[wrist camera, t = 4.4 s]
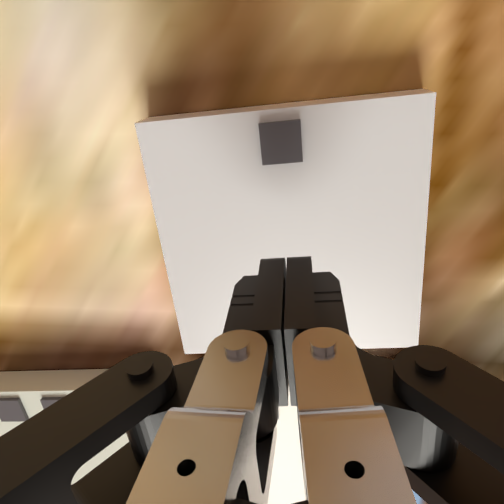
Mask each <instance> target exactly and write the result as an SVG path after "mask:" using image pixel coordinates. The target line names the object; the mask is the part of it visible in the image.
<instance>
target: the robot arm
mask: <svg viewBox="0 0 504 504" xmlns="http://www.w3.org/2000/svg"><path fill="white" fill-rule="evenodd" d="M288 389H289V391H290V402H291V406H297V415H298V428H299V439H300V449H301V459H302V469H303V479H304V489H305V499H306V500H305V501H300V502H296V503H292V504H416V500H415V497H414V495H413V492H412V490H413V491H415V492H416V493H417V494H418V495H419V496H420V497H421V498H422V499H423V500H424V501H426V502H427V503H428V504H504V381H502V380H500V379H498V378H496V377H495V376H493V375H491V374H489V373H487V372H486V371H484V370H482V369H480V368H478V367H477V366H475V365H473V364H471V363H469V362H468V361H466V360H464V359H462V358H460V357H458V356H457V355H455V354H453V353H451V352H449V351H447V350H445V349H442V348H439V347H435V346H428V345H417V346H411V347H408V348H405V349H403V350H401V351H400V352H399V353H398V354H397V355H396V357H395V359H394V360H393V359H388V358H383V357H378V356H374V355H372V354H369V353H367V352H365V351H363V350H361V349H360V348H358V347H357V346H356V345H355V343H354V341H353V339H352V338H351V337H350V335H349V330H348V324H347V319H346V313H345V308H344V303H343V297H342V293H341V286H340V281H339V279H338V278H336V277H335V276H334V275H333V274H332V273H331V272H312V260H311V256H304V257H287V266H286V261H285V258H268V259H261V260H260V265H259V272H258V275H251V276H243V277H242V278H241V279H240V280H239V281H238V282H237V283H236V284H235V286H234V290H233V294H232V298H231V302H230V306H229V310H228V314H227V318H226V322H225V326H224V330H223V334H221V335H219V336H218V337H216V338H215V339H214V340H213V341H212V342H211V343H210V344H209V346H208V348H207V351H206V353H205V356H204V357H202V358H200V359H197V360H194V361H191V362H187V363H183V364H179V365H175V366H173V364H172V361H171V359H170V358H169V357H168V356H167V355H166V354H164V353H161V352H156V351H147V352H141V353H137V354H134V355H132V356H129V357H128V358H126V359H124V360H122V361H121V362H119V363H118V364H116V365H114V366H113V367H111V368H110V369H108V370H106V371H105V372H103V373H102V374H100V375H98V376H97V377H95V378H93V379H92V380H90V381H89V382H87V383H85V384H84V385H82V386H81V387H79V388H77V389H76V390H74V391H73V392H71V393H69V394H68V395H66V396H65V397H63V398H61V399H60V400H58V401H57V402H55V403H53V404H52V405H50V406H49V407H47V408H45V409H44V410H42V411H40V412H39V413H37V414H36V415H34V416H32V417H31V418H29V419H28V420H26V421H24V422H23V423H21V424H20V425H18V426H16V427H15V428H13V429H12V430H10V431H8V432H7V433H5V434H4V435H2V436H0V504H268V497H269V489H270V482H271V475H272V468H273V460H274V453H275V446H276V439H277V427H276V424H277V421H278V406H288ZM125 433H126V434H127V437H128V440H129V442H128V443H127V444H125V445H124V446H123V447H121V448H120V449H119V450H118V451H116V452H115V453H114V454H112V455H111V456H110V457H108V458H107V459H106V460H105V461H103V462H102V463H101V464H99V465H98V466H97V467H95V468H94V469H93V470H92V471H90V472H89V473H88V474H86V475H85V476H84V477H82V478H81V479H80V480H79V481H77V482H76V483H74V484H72V485H71V482H72V479H73V477H74V475H75V473H76V472H77V471H78V469H79V468H80V467H81V466H82V465H84V464H85V463H86V462H87V461H89V460H90V459H91V458H93V457H94V456H96V455H97V454H98V453H100V452H101V451H102V450H104V449H105V448H106V447H108V446H109V445H110V444H112V443H113V442H114V441H116V440H117V439H118V438H120V437H121V436H122V435H124V434H125ZM463 445H464V446H463ZM474 453H475V454H474ZM485 461H486V462H485ZM496 469H497V470H496Z"/></svg>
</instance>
